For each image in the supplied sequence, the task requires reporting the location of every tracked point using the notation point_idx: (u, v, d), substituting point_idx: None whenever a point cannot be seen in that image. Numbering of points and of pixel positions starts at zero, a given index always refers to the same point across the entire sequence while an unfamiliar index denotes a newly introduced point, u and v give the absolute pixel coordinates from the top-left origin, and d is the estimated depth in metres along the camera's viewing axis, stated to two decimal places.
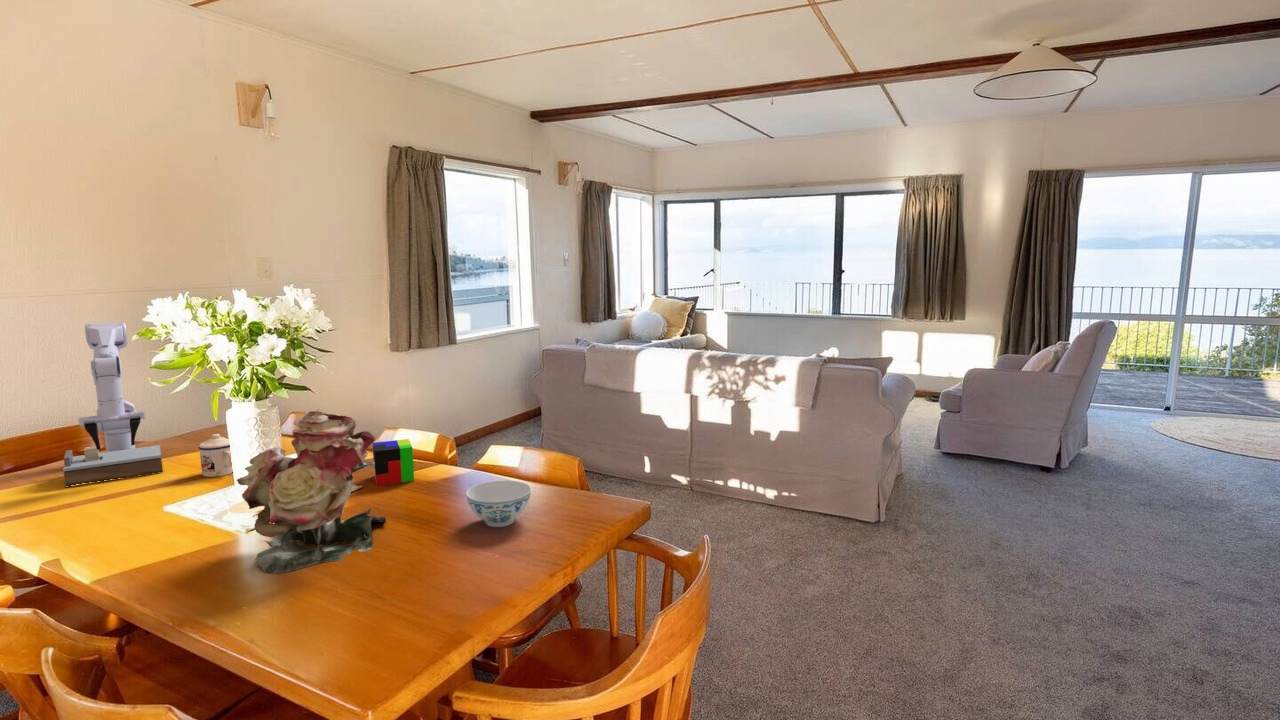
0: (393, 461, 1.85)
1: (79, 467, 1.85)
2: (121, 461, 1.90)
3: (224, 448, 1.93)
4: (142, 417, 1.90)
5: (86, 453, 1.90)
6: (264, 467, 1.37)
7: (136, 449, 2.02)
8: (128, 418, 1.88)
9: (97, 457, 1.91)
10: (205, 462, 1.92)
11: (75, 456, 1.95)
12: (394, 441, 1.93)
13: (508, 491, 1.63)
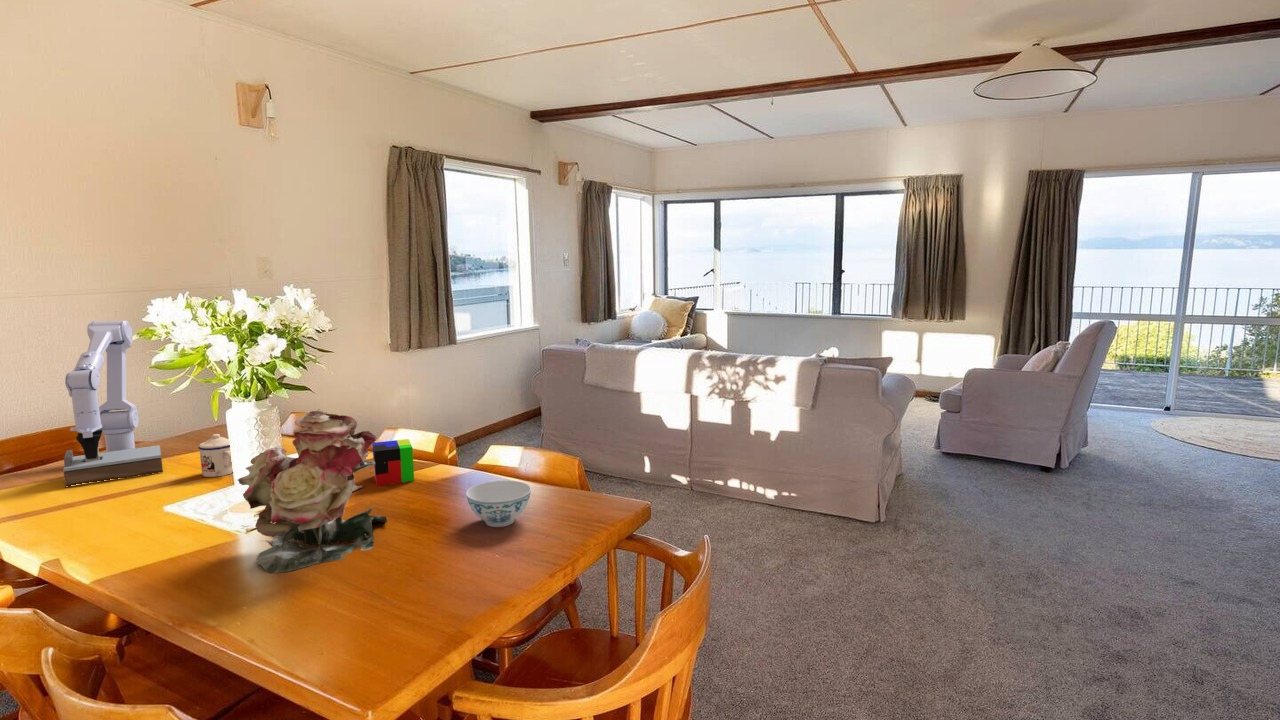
0: (393, 461, 1.85)
1: (79, 467, 1.85)
2: (121, 461, 1.90)
3: (224, 448, 1.93)
4: (83, 436, 1.85)
5: None
6: (265, 467, 1.38)
7: (136, 449, 2.02)
8: None
9: (97, 457, 1.91)
10: (205, 462, 1.92)
11: (75, 456, 1.95)
12: (394, 441, 1.93)
13: (508, 491, 1.63)
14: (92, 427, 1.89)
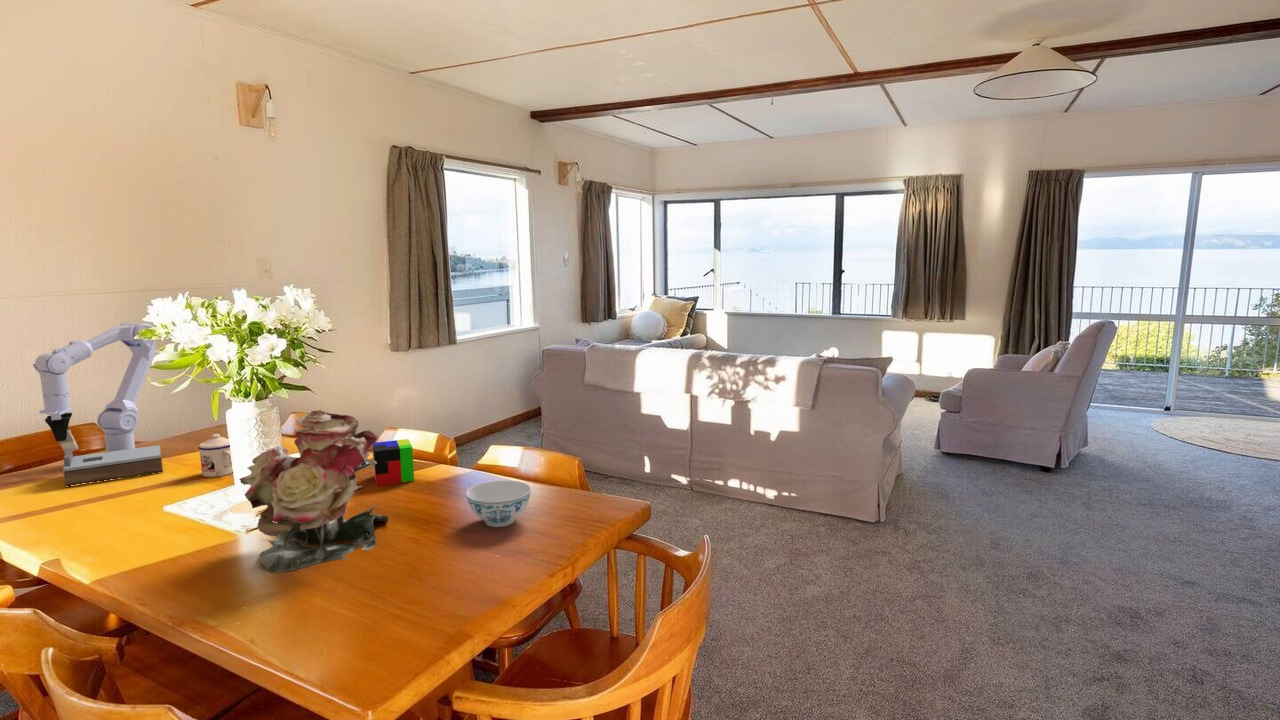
0: (393, 461, 1.85)
1: (79, 467, 1.85)
2: (121, 461, 1.90)
3: (224, 448, 1.93)
4: (51, 418, 1.88)
5: None
6: (267, 466, 1.38)
7: (136, 449, 2.02)
8: None
9: (71, 439, 1.95)
10: (205, 462, 1.92)
11: (75, 456, 1.95)
12: (394, 441, 1.93)
13: (508, 491, 1.63)
14: (61, 410, 1.92)
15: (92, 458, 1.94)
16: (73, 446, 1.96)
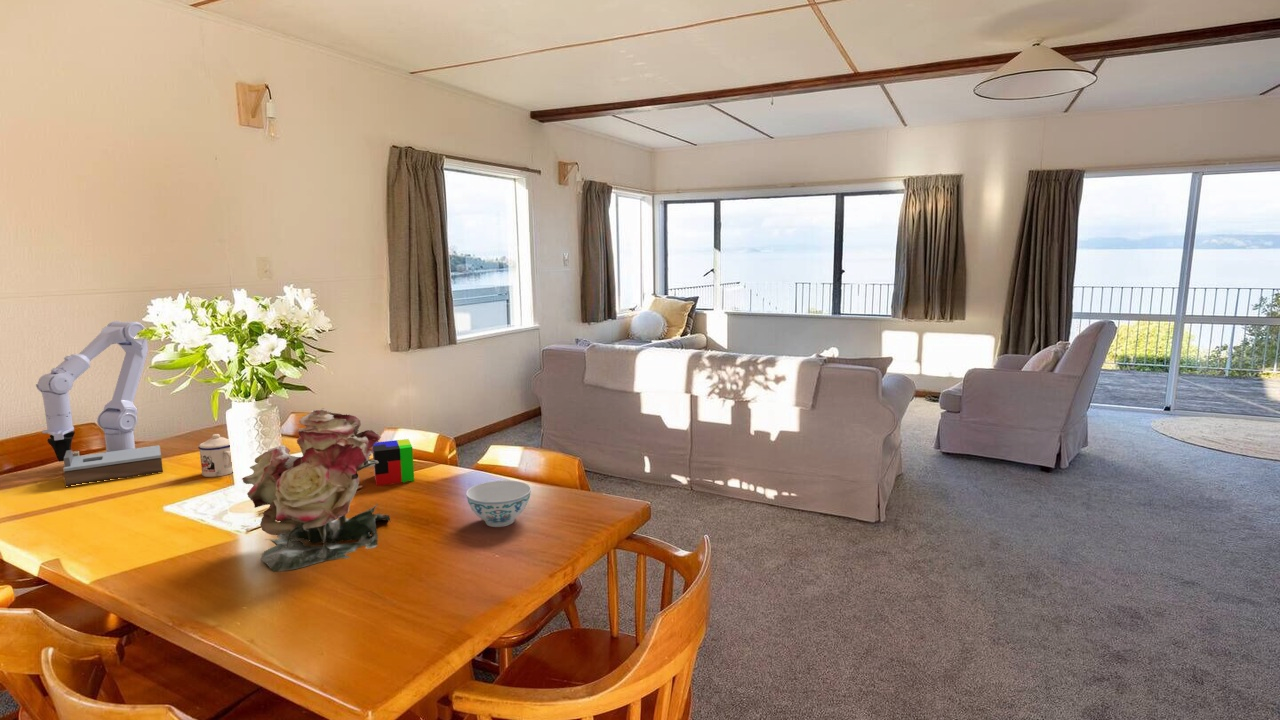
0: (393, 461, 1.85)
1: (79, 467, 1.85)
2: (121, 461, 1.90)
3: (224, 448, 1.93)
4: (54, 438, 1.89)
5: None
6: (270, 466, 1.38)
7: (136, 449, 2.02)
8: None
9: None
10: (205, 462, 1.92)
11: (75, 456, 1.95)
12: (394, 441, 1.93)
13: (508, 491, 1.63)
14: (64, 429, 1.93)
15: (92, 458, 1.94)
16: None
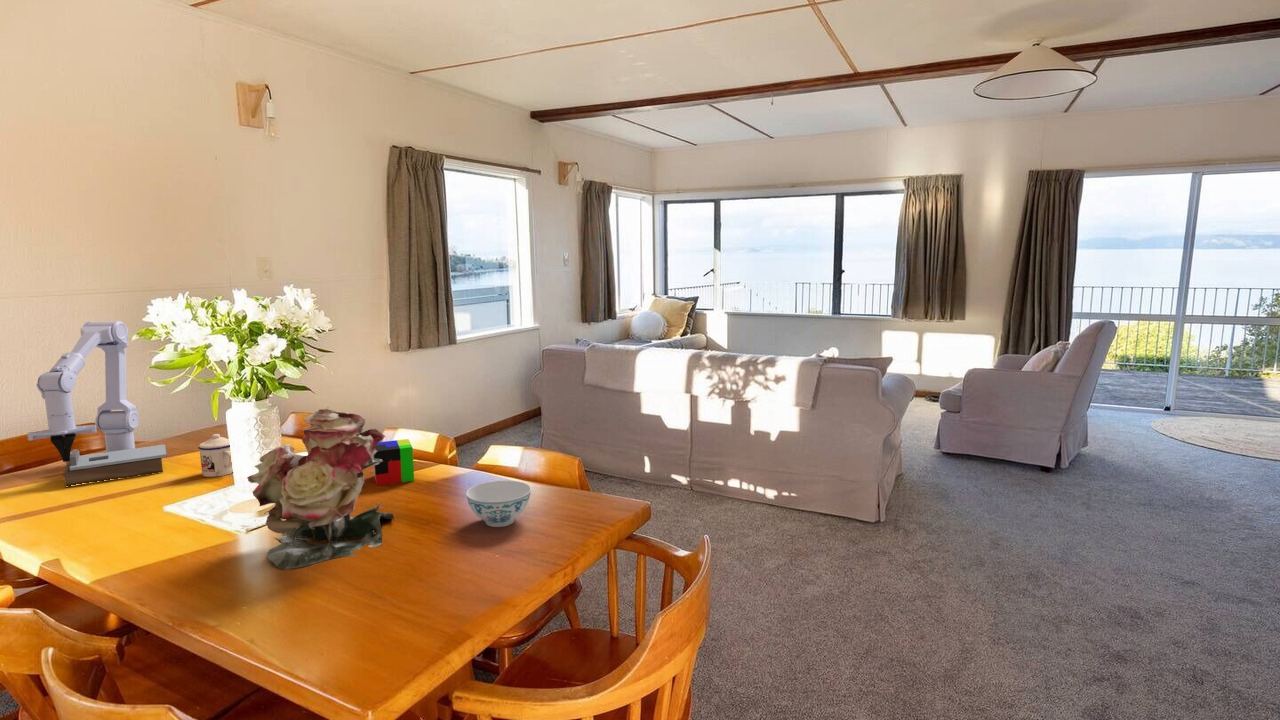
0: (393, 461, 1.85)
1: (85, 466, 1.86)
2: (127, 460, 1.91)
3: (224, 448, 1.93)
4: (93, 431, 1.90)
5: None
6: (275, 464, 1.39)
7: (141, 448, 2.03)
8: (79, 432, 1.88)
9: None
10: (205, 462, 1.92)
11: None
12: (394, 441, 1.93)
13: (508, 491, 1.63)
14: (75, 427, 1.89)
15: (98, 457, 1.94)
16: None
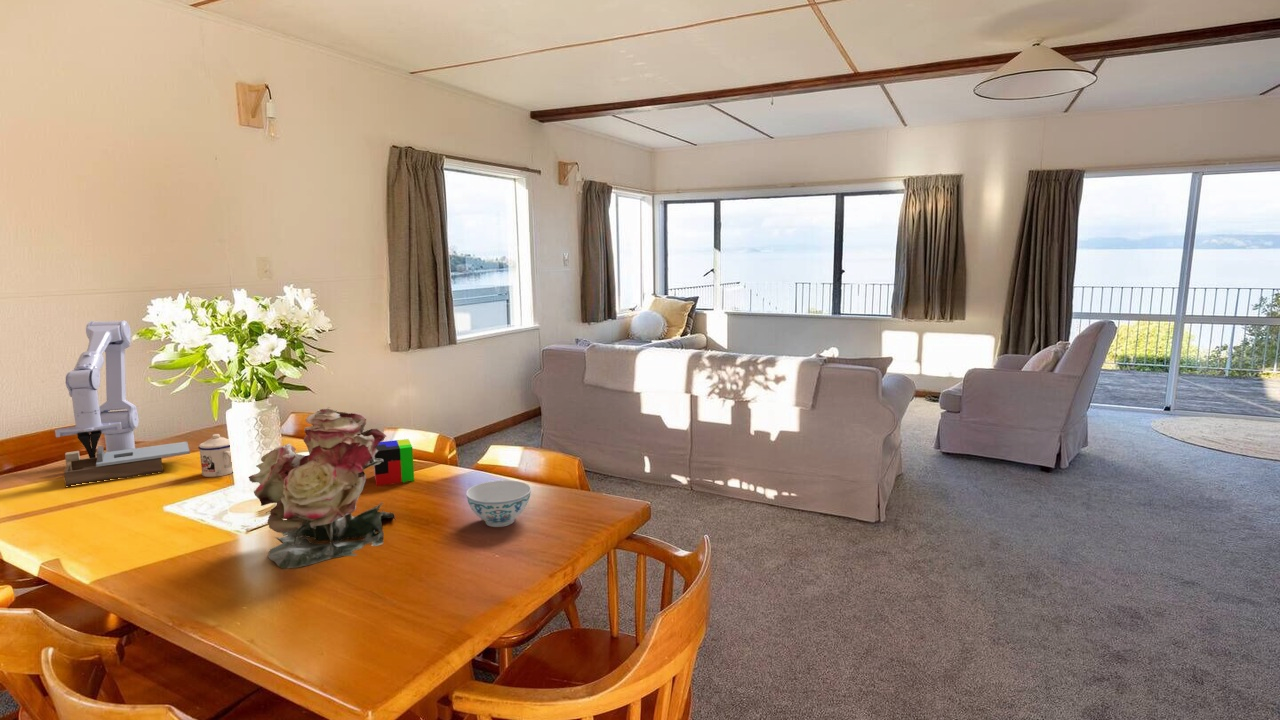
0: (393, 461, 1.85)
1: (111, 462, 1.89)
2: (151, 457, 1.95)
3: (224, 448, 1.93)
4: (118, 428, 1.93)
5: (67, 458, 1.95)
6: (276, 464, 1.39)
7: (164, 445, 2.06)
8: (104, 429, 1.92)
9: None
10: (205, 462, 1.92)
11: (106, 452, 1.99)
12: (394, 441, 1.93)
13: (508, 491, 1.63)
14: (101, 424, 1.92)
15: (123, 454, 1.98)
16: None
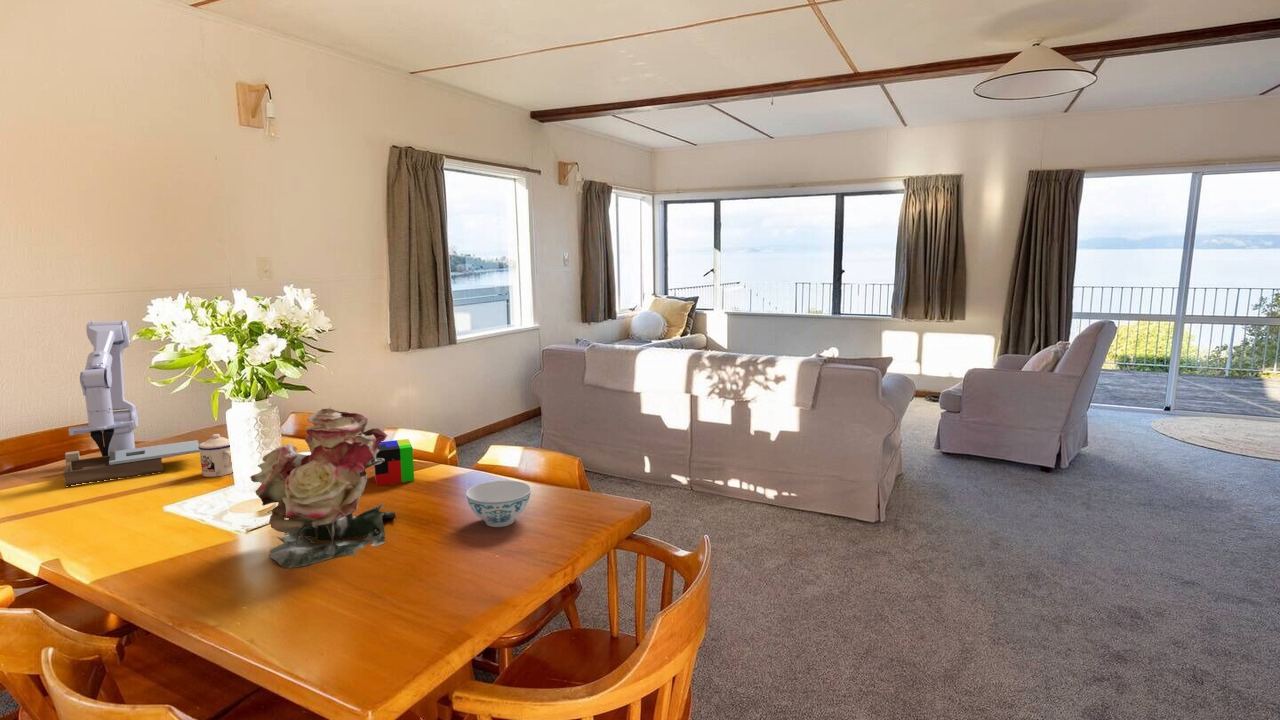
0: (393, 461, 1.85)
1: (124, 461, 1.91)
2: (163, 455, 1.96)
3: (224, 448, 1.93)
4: (131, 427, 1.95)
5: (67, 458, 1.95)
6: (278, 464, 1.40)
7: (176, 444, 2.08)
8: (117, 428, 1.94)
9: None
10: (205, 462, 1.92)
11: None
12: (394, 441, 1.93)
13: (508, 491, 1.63)
14: (113, 422, 1.94)
15: (135, 452, 2.00)
16: None
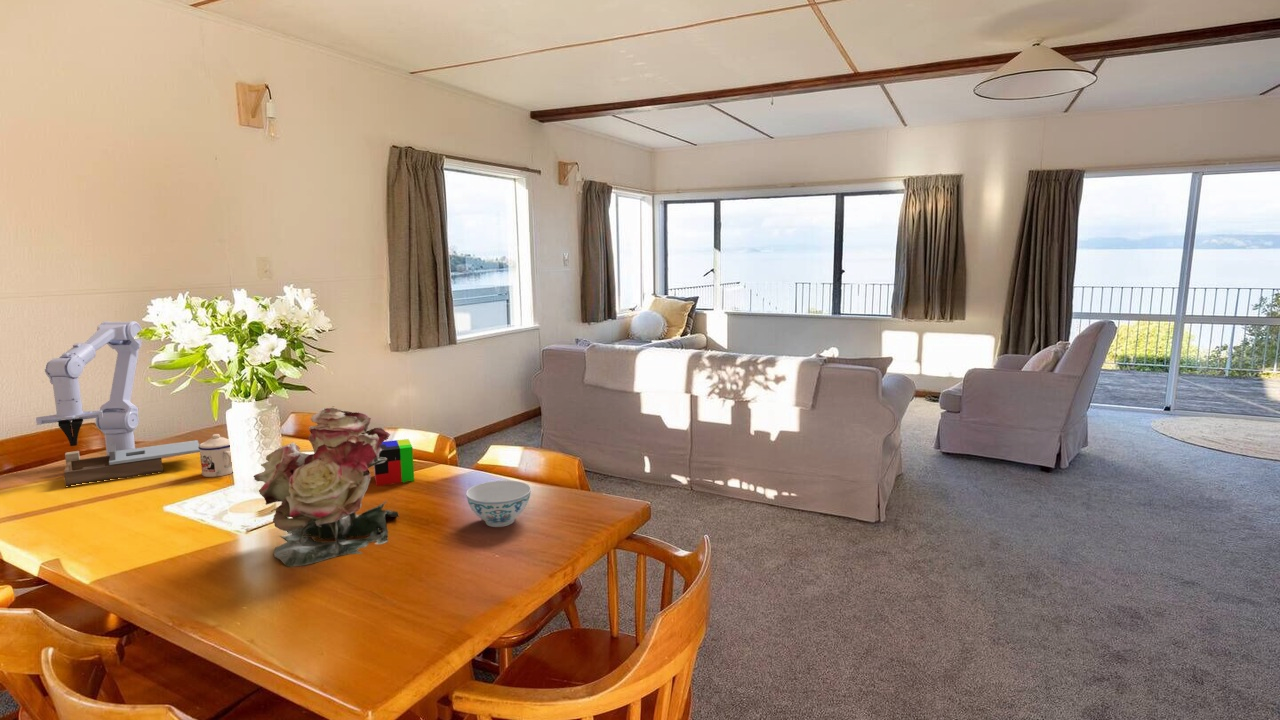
0: (393, 461, 1.85)
1: (124, 461, 1.91)
2: (163, 455, 1.96)
3: (224, 448, 1.93)
4: (100, 416, 1.94)
5: (67, 458, 1.95)
6: (281, 463, 1.40)
7: (176, 444, 2.08)
8: (86, 417, 1.93)
9: None
10: (205, 462, 1.92)
11: None
12: (394, 441, 1.93)
13: (508, 491, 1.63)
14: (82, 412, 1.93)
15: (135, 452, 2.00)
16: None
